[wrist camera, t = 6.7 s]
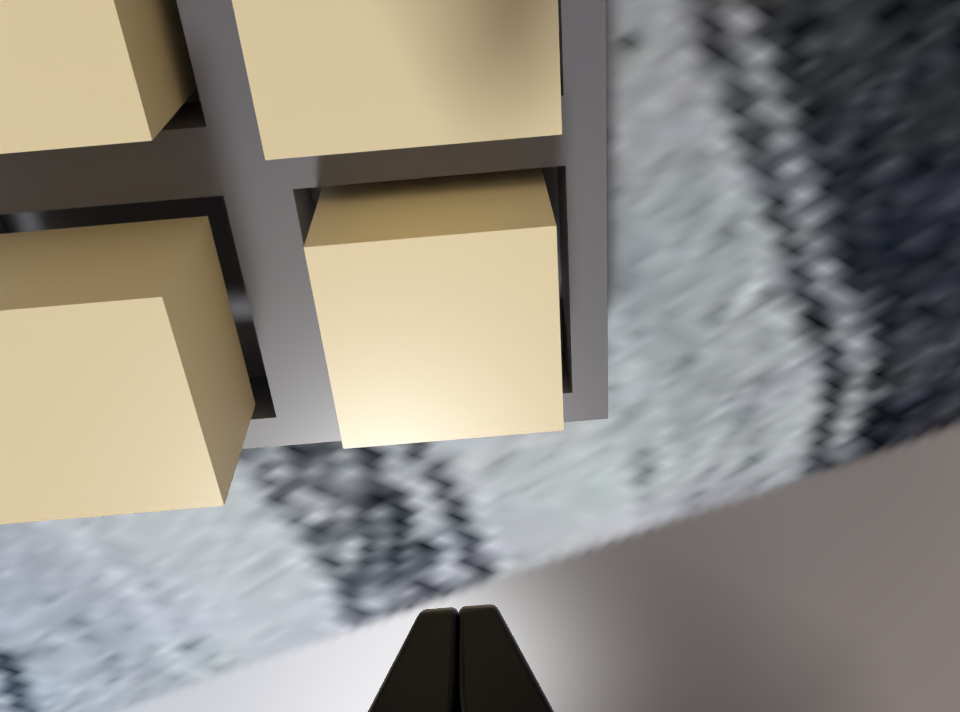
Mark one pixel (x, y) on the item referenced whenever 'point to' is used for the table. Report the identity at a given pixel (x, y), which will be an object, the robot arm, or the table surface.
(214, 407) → the button
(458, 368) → the button
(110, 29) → the button
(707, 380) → the table surface
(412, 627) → the robot arm
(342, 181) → the button board
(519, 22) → the button
